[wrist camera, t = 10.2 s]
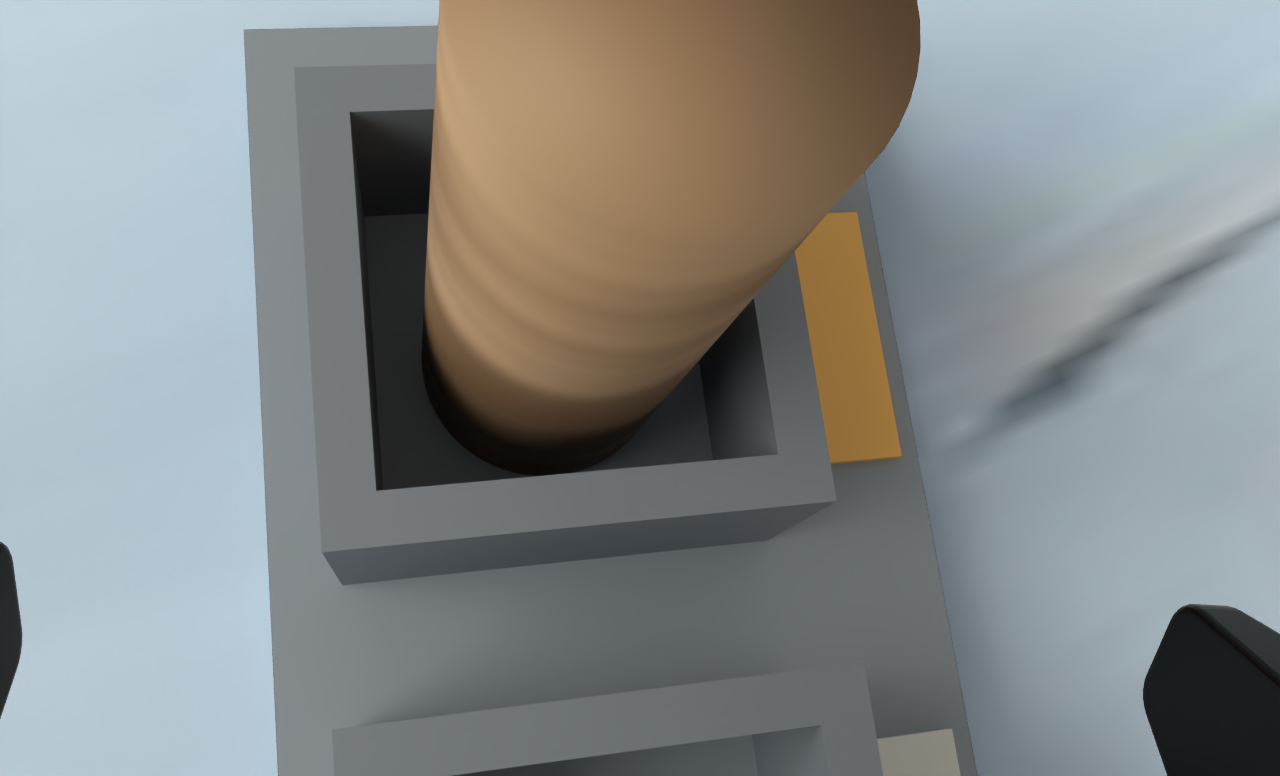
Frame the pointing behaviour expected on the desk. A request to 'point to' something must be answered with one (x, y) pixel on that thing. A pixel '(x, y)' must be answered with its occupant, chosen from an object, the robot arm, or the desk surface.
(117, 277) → the desk surface
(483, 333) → the walnut peg
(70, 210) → the desk surface
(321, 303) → the socket block
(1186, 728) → the robot arm
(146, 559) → the desk surface
